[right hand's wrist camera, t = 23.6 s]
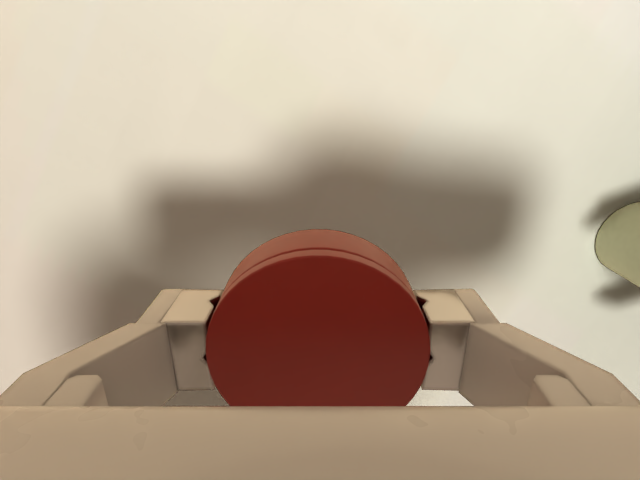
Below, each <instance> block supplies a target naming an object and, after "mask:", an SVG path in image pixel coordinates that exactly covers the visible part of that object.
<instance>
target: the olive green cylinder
mask: <svg viewBox="0 0 640 480" xmlns="http://www.w3.org/2000/svg"><path fill="white" fill-rule="evenodd" d="M595 249H596V254H597V256H598V259H599V260H600V262H601V263H602V264H603V265H604V266H606V267H607V268H609V269H610V270H612V271H613V272H615V273H617V274H618V275H620V276H622V277H623V278H625V279H626V280H628V281H630V282H631V283H633V284H635V285H636V286H638V287H639V288H640V202H637V203H633V204H629V205H627V206H624V207H622V208H620V209H619V210H617V211H616V212H614V213H613V214H612V215H611V216H610V217H609V218H608V219H607V220H606V221H605V222H604V223H603V225H602V226H601V228H600V230H599V232H598V234H597V238H596V243H595Z"/></svg>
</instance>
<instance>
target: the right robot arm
mask: <svg viewBox="0 0 640 480" xmlns="http://www.w3.org/2000/svg"><path fill="white" fill-rule="evenodd" d="M223 291H224V290H205V289H164V290H161V292H160V293H159V294H158V295H157V297H156V298H155V299H154V301H153V302H152V303H151V304H150V306H149V307H148V308H147V310H146V311H145V312H144V313H143V315H142V316H141V317H140V318H139V320H138V321H137V322H136V323H129V324H127V325H125V326H122V327H120V328H118V329H116V330H114V331H112V332H110V333H108V334H106V335H103V336H101V337H99V338H97V339H95V340H93V341H91V342H89V343H87V344H84V345H82V346H80V347H78V348H76V349H74V350H72V351H70V352H67V353H65V354H63V355H61V356H59V357H57V358H55V359H53V360H51V361H48V362H46V363H44V364H42V365H40V366H38V367H36V368H34V369H32V370H29V371H27V372H25V373H23V374H22V375H21V376H20V377H19V378H18V379H17V380H16V381H15V382H14V383H13V384H12V385H11V386H10V387H9V388H8V389H7V390H6V391H5V392H4V393H2V394H1V395H0V480H640V401H639V400H638V399H637V398H636V397H635V396H634V395H633V394H632V393H631V392H630V391H629V390H628V389H627V388H626V387H625V386H624V385H623V384H622V383H621V382H620V381H619V380H618V379H617V378H616V377H615V376H614V375H613V374H611V373H609V372H607V371H605V370H603V369H601V368H599V367H597V366H595V365H593V364H591V363H588V362H586V361H584V360H582V359H580V358H578V357H576V356H574V355H572V354H570V353H568V352H566V351H563V350H561V349H559V348H557V347H555V346H553V345H551V344H549V343H547V342H545V341H543V340H540V339H538V338H536V337H534V336H532V335H530V334H528V333H526V332H524V331H522V330H520V329H517V328H515V327H513V326H511V325H509V324H507V323H500V322H499V321H498V320H497V319H496V317H495V316H494V315H493V313H492V312H491V311H490V309H489V308H488V307H487V306H486V304H485V303H484V302H483V300H482V299H481V298H480V296H479V295H478V294H477V293H476V291H475V290H473V289H434V290H413V293H414V295H415V298H416V300H417V302H418V304H419V307H420V309H421V311H422V313H423V315H424V318H425V321H426V324H427V327H428V331H429V336H430V359H429V365H428V368H427V372H426V375H425V378H424V380H423V382H422V384H421V388H422V390H456V391H459V393H460V394H461V395H462V396H463V397H465V398H466V399H467V400H468V401H469V402H470V403H471V404H472V405H474V406H163V405H164V404H165V403H166V402H167V401H168V400H169V399H171V398H172V397H173V396H174V395H175V394H176V393H177V391H180V390H214V389H215V384H214V382H213V380H212V377H211V375H210V372H209V368H208V365H207V359H206V350H205V349H206V335H207V331H208V326H209V323H210V321H211V318H212V315H213V313H214V311H215V309H216V306H217V305H218V302H219V300H220V298H221V296H222V293H223Z"/></svg>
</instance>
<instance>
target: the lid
mask: <svg viewBox="0 0 640 480" xmlns="http://www.w3.org/2000/svg"><path fill="white" fill-rule="evenodd" d="M205 350H206V359H207V365H208V368H209V372H210V375H211V377H212V380H213V382H214V384H215V386H216V388H217V389H218V391H219V393H220V394H221V396H222V397H223V398H224V399H225V401H226V402H227V403H228V404H229V405H230V406H406V405H407V404H408V403H409V402H410V401H411V399H412V398H413V397H414V395H415V394H416V393H417V391H418V390H419V388H420V386H421V384H422V382H423V380H424V378H425V375H426V372H427V368H428V365H429V359H430V336H429V331H428V327H427V324H426V321H425V318H424V315H423V313H422V311H421V309H420V307H419V304H418V302H417V300H416V298H415V295H414V293H413V291H412V289H411V286H410V284H409V282H408V280H407V278H406V277H405V275H404V273H403V271H402V270H401V269H400V267H399V266H398V265H397V263H396V262H395V261H394V260H393V259H392V258H391V257H390V256H389V255H388V254H387V253H385V252H384V251H383V250H381V249H380V248H379V247H377V246H376V245H374V244H372V243H370V242H369V241H367V240H365V239H362V238H360V237H358V236H355V235H352V234H348V233H345V232H341V231H334V230H327V229H310V230H301V231H296V232H292V233H287V234H284V235H281V236H279V237H276V238H273V239H271V240H270V241H268V242H266V243H264V244H262V245H260V246H259V247H258V248H256V249H255V250H253V251H252V252H251V253H250V254H249V255H248V256H246V257H245V258H244V259H243V260H242V261H241V263H240V264H239V265H238V266H237V268H236V269H235V270H234V272H233V274H232V275H231V277H230V279H229V281H228V283H227V285H226V287H225V289H224V291H223V293H222V296H221V298H220V300H219V302H218V305H217V306H216V309H215V311H214V313H213V315H212V318H211V321H210V323H209V326H208V331H207V335H206V349H205Z"/></svg>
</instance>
